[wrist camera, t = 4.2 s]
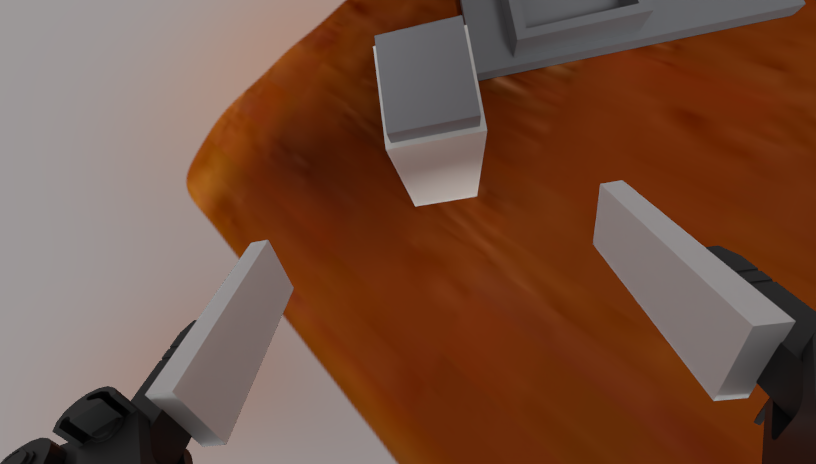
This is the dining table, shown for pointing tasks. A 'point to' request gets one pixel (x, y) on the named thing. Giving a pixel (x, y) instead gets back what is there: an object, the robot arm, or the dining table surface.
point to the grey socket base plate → (595, 27)
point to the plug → (432, 109)
